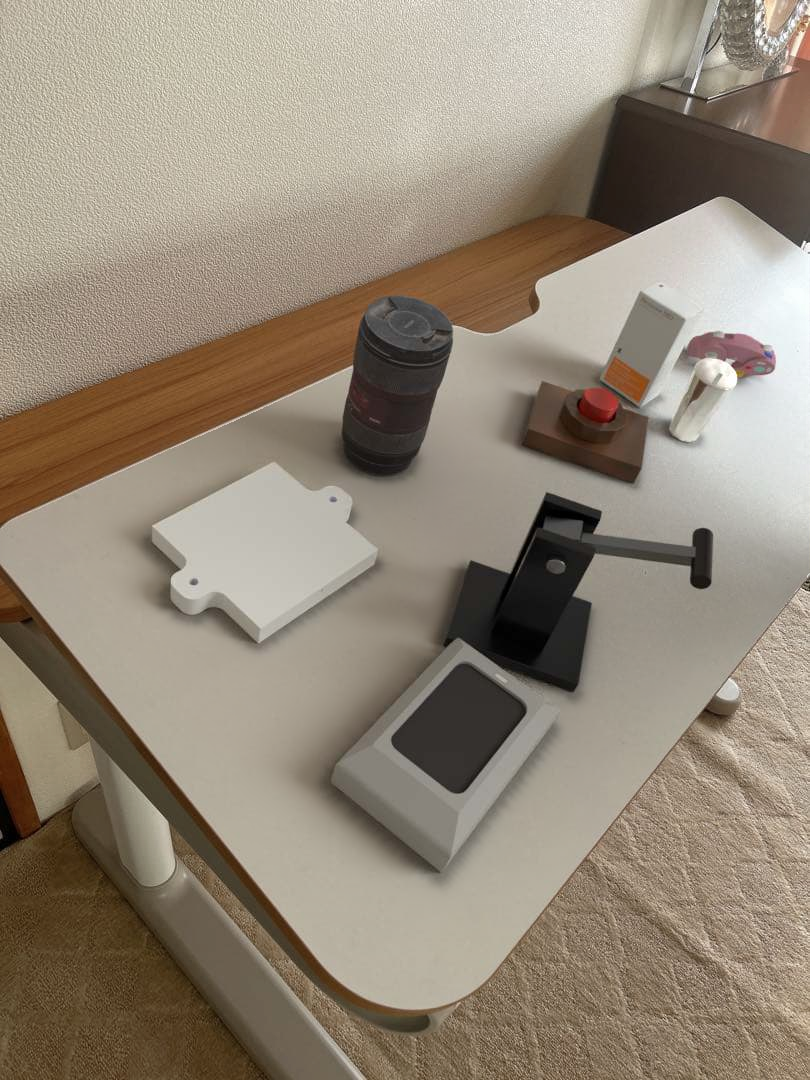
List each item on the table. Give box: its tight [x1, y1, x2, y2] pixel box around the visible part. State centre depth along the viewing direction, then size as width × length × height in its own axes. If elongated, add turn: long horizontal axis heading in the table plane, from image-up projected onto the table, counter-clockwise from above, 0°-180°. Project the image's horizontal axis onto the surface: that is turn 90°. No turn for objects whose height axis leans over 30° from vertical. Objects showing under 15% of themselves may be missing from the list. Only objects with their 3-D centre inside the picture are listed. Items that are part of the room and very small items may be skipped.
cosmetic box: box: [598, 280, 705, 409], centre depth 97 cm, size 6×4×12 cm
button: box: [579, 386, 619, 423], centre depth 90 cm, size 4×4×2 cm
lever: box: [543, 516, 714, 590], centre depth 65 cm, size 12×5×2 cm, turn 74°
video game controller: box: [686, 330, 777, 379], centre depth 106 cm, size 10×5×7 cm, turn 80°
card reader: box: [329, 638, 560, 874], centre depth 63 cm, size 10×4×15 cm
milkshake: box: [668, 358, 738, 443], centre depth 94 cm, size 4×5×10 cm
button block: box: [521, 380, 649, 484], centre depth 92 cm, size 12×9×4 cm
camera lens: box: [341, 295, 454, 477], centre depth 79 cm, size 8×8×15 cm
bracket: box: [442, 491, 603, 693], centre depth 69 cm, size 11×9×13 cm
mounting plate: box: [151, 461, 379, 644], centre depth 73 cm, size 18×13×2 cm
